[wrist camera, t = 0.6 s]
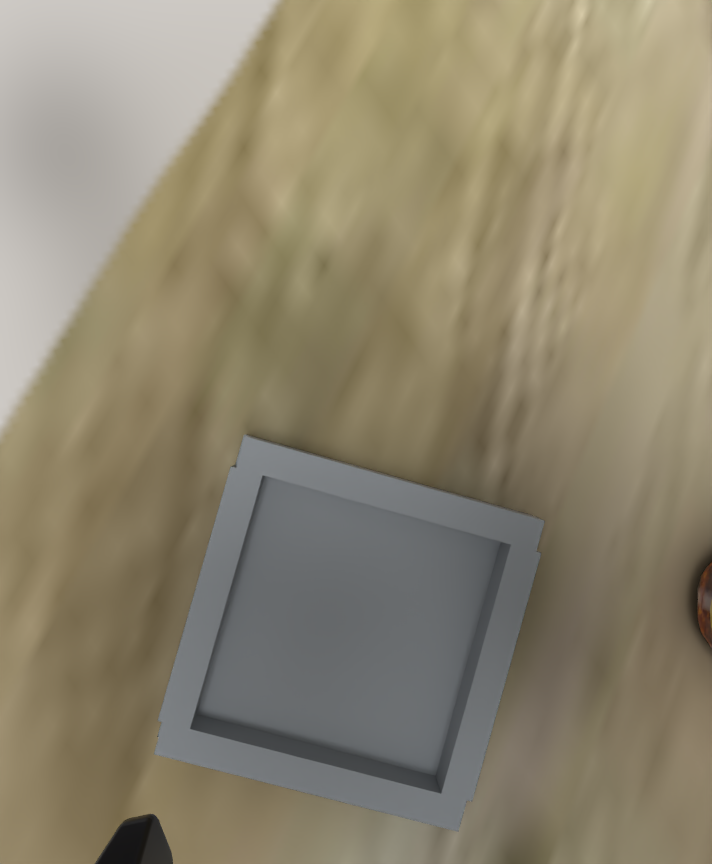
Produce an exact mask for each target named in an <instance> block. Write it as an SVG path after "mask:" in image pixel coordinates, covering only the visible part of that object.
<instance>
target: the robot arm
mask: <svg viewBox="0 0 712 864" xmlns="http://www.w3.org/2000/svg"><path fill="white" fill-rule="evenodd" d="M95 864H173V859H172V853H171V850H170V847H169V845H168V842H167V840H166V837H165V835H164V832H163V830H162V827H161V825H160V822H159V820H158V818H157V817H156V816H155V815H154V814H147V815H143V816H138V817H133V818H129V819H127V820H125V821H124V822H123V823H122V824H121V825H120V826H119V827H118V829H117V830H116V832H115V833H114V835H113V837H112V838H111V840H110V841H109V843H108V844H107V846H106V847H105V849H104V850H103V852H102V853H101V855H100V856H99V858H98V860H97V861H96V863H95Z"/></svg>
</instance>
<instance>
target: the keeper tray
mask: <svg viewBox="0 0 712 864" xmlns="http://www.w3.org/2000/svg"><path fill="white" fill-rule="evenodd" d="M544 522H545V521H544V520H541V519H539V518H538V517H535V516H533V515H529V514H526V513H522V512H519V511H515V510H512V509H508V508H505V507H501V506H498V505H494V504H490V503H487V502H483V501H480V500H476V499H473V498H469V497H466V496H462V495H459V494H455V493H451V492H448V491H444V490H441V489H437V488H434V487H430V486H427V485H423V484H420V483H416V482H413V481H409V480H405V479H402V478H398V477H395V476H391V475H388V474H384V473H381V472H377V471H374V470H370V469H366V468H363V467H359V466H356V465H352V464H349V463H345V462H342V461H338V460H335V459H331V458H327V457H324V456H320V455H317V454H313V453H310V452H306V451H303V450H299V449H296V448H292V447H289V446H285V445H281V444H278V443H274V442H271V441H267V440H264V439H260V438H257V437H253V436H250V435H244V437H243V440H242V444H241V447H240V451H239V454H238V458H237V461H236V465H233V466H231V467H230V471H229V474H228V478H227V481H226V485H225V488H224V492H223V495H222V499H221V502H220V506H219V509H218V513H217V516H216V520H215V523H214V527H213V530H212V534H211V537H210V541H209V544H208V547H207V551H206V554H205V558H204V561H203V565H202V568H201V572H200V575H199V579H198V582H197V586H196V589H195V593H194V596H193V600H192V603H191V607H190V610H189V614H188V617H187V621H186V624H185V628H184V631H183V635H182V638H181V642H180V645H179V648H178V652H177V655H176V659H175V662H174V666H173V669H172V673H171V676H170V680H169V683H168V687H167V690H166V694H165V697H164V701H163V704H162V708H161V711H160V715H159V718H158V721H160V722H161V726H160V729H159V733H158V736H157V737H159V738H158V742H157V745H156V749H155V752H154V754H155V755H159V756H163V757H167V758H171V759H175V760H178V761H182V762H186V763H190V764H194V765H198V766H202V767H206V768H210V769H214V770H218V771H222V772H226V773H230V774H233V775H237V776H241V777H245V778H249V779H253V780H257V781H261V782H265V783H269V784H273V785H277V786H281V787H285V788H288V789H292V790H296V791H300V792H304V793H308V794H312V795H316V796H320V797H324V798H328V799H332V800H336V801H340V802H344V803H347V804H351V805H355V806H359V807H363V808H367V809H371V810H375V811H379V812H383V813H387V814H391V815H395V816H399V817H402V818H406V819H410V820H414V821H418V822H422V823H426V824H430V825H434V826H438V827H442V828H446V829H450V830H454V831H457V832H458V831H459V827H460V824H461V820H462V816H463V813H464V809H465V806H466V802H467V801H471V802H472V800H473V797H474V793H475V789H476V786H477V782H478V779H479V775H480V771H481V768H482V764H483V761H484V757H485V753H486V750H487V746H488V743H489V739H490V736H491V732H492V728H493V725H494V721H495V718H496V714H497V710H498V707H499V703H500V700H501V696H502V692H503V689H504V685H505V682H506V678H507V675H508V671H509V667H510V664H511V660H512V657H513V653H514V649H515V646H516V642H517V639H518V635H519V631H520V628H521V624H522V621H523V617H524V614H525V610H526V606H527V603H528V599H529V596H530V592H531V588H532V585H533V581H534V578H535V574H536V570H537V567H538V563H539V560H540V556H541V553H540V552H538V551H537V547H538V544H539V540H540V537H541V533H542V529H543V526H544Z"/></svg>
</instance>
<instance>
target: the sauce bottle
mask: <svg viewBox="0 0 712 864" xmlns="http://www.w3.org/2000/svg"><path fill="white" fill-rule="evenodd" d="M697 589H698V604H697V611H698V622H699V625H700V630H701V633H702V634H703V636H704V637H705V639H706V640H707V642H708V643H709V645H710V647H711V648H712V562H711V563H710V565H708V566H707V567H706V569H705V570H704V572H703V573H702V575H701V577H700V581H699V585H698V587H697Z"/></svg>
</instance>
